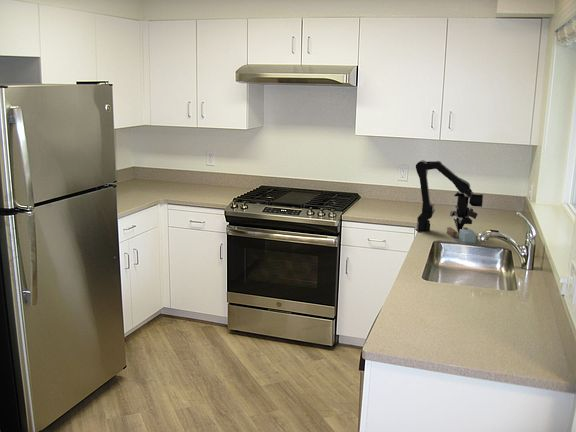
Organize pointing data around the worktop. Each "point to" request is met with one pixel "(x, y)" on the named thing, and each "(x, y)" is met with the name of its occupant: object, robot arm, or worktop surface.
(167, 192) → the worktop surface
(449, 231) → the chute
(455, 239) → the pad
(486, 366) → the worktop surface
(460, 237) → the block
